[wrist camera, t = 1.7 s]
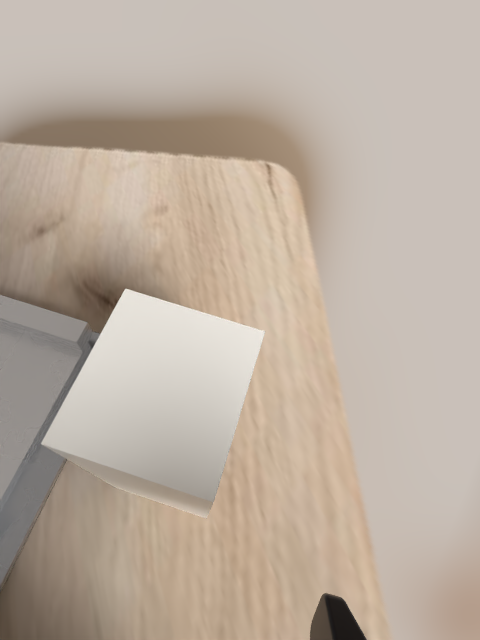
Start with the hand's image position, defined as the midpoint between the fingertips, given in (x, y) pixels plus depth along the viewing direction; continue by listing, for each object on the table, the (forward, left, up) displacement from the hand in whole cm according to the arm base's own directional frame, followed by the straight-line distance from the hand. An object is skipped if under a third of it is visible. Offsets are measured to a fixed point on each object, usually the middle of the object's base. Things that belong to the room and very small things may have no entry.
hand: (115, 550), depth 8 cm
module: (+4, +1, -11) cm, 11 cm away
